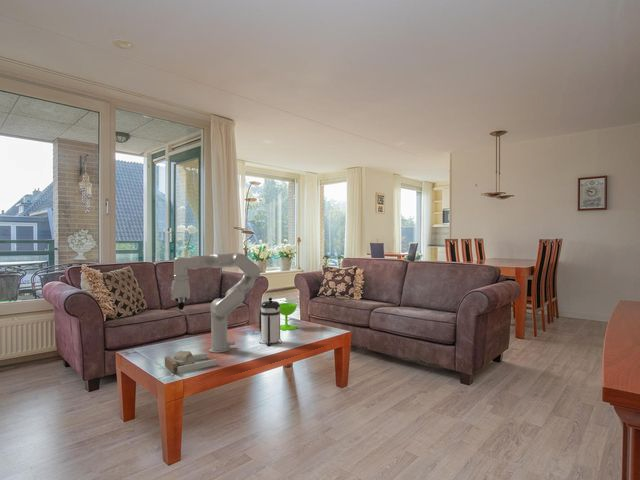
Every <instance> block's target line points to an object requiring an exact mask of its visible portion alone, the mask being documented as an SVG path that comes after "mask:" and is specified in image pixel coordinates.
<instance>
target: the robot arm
mask: <svg viewBox="0 0 640 480" xmlns="http://www.w3.org/2000/svg"><path fill="white" fill-rule="evenodd" d="M235 267H238V269H239V270H240V271H241V272H242V273H243V275H242V278H241V279H240V280H239V281H238V282H237V283H235V284H234V285H233V286H232V287H230V288H229V289H228V290H227V291H226V293H225V297H223V298H215V299H213V300H212V302H211V303H210V320H211V323H210V324H211V325H210V326H211V329H210V331H211V332H210V333H211V334H210V335H211V337H210V338H211V339H210V340H211V347H209V348H208V352H210V353H213V354H216V353H218V354H219V353H225V352H228V351H230V350H231V346H234V345H236V342H235V341H228V315H230V314H231V313H232V312H233V311H234V310H236V309H237V308H238V307H239V306H240V305H242V303H243V302H244V301H245V295H246V294H247V293H248V292H249V291H251V289H252V288H253V287H254V285H255V283H256V278H259V276H260V275H261V273H262V271H261V267H260V266H259V265H258V264H256V263H255V262H254V261H252V260H251V259H250V257H248V256H247V255H246V254H244V253H241V252H234V253H233V252H231V253H216V254H207V255H205V254H204V255H191V256H189V257H185V256H184V257H183V256H181V257H180V256H179V257H178V256H177V257H174V259H173V280H172V281H171V289H170V300H171V301H176V303H177V309H178V310H179V311H181V310H184V308H185V302H186V301H187V300H188V299H189V300H190V299H191V288H190V281H189V279H190V278H191V276H190V275H188V270H198V269H201V268H214V269H221V268H222V269H223V268H235Z"/></svg>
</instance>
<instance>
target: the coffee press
mask: <svg viewBox="0 0 640 480" xmlns="http://www.w3.org/2000/svg"><path fill="white" fill-rule="evenodd" d="M258 314H259V315H258V317H259V319H258V325H259V331H260V340H259V344H262V343H265V344H267V347H270V346H271V344H274V343H279V344H282V343H283V341H282V340H281V331H280V325H281V314H280V302H279V301H276V300H273V298H272V297H269V298H268V300H266V301H263V302H261V305H260V310H259V313H258Z"/></svg>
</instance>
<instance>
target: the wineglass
mask: <svg viewBox="0 0 640 480" xmlns="http://www.w3.org/2000/svg"><path fill="white" fill-rule="evenodd" d="M279 304H280V315H283V316H284V324H280V330H282V332H283V331H285V332H286V330H290V331H295V330H297V329H296V328H298V327H297V326H296V325H294V324H288V322H289V319H288V317H289V316H291V315H292V314H293V313H294V312H296V309H297V304H296V303H292V302H283V303H280V302H279ZM294 329H295V330H294Z"/></svg>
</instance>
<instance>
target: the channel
mask: <svg viewBox="0 0 640 480" xmlns="http://www.w3.org/2000/svg"><path fill="white" fill-rule="evenodd" d="M192 355H193V356H194V357H195V361H200V360H205V359H208V352H203V353H197V354H192ZM213 366H218V359H217V358H215V359H209V360H205V361H200V362H195V363H194V364H189V365H184V366H179V367H177V363H176V362H175V361H174V360H173V358H171V356H169V355H167V356H164V367H165V368H166V369H167V370H168V371H169V372H170V373H171V374H172V375H175V374H176V375H177V374H181V373H185V372H190V371H194V370H195V371H196V370H200V369H203V368H209V367H213Z"/></svg>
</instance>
